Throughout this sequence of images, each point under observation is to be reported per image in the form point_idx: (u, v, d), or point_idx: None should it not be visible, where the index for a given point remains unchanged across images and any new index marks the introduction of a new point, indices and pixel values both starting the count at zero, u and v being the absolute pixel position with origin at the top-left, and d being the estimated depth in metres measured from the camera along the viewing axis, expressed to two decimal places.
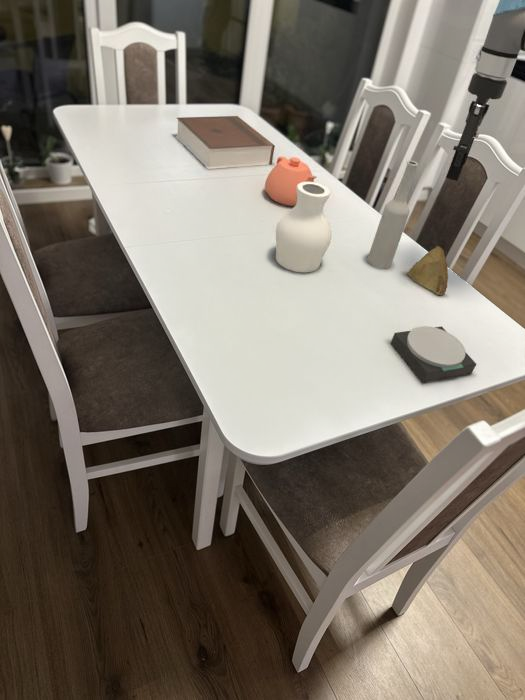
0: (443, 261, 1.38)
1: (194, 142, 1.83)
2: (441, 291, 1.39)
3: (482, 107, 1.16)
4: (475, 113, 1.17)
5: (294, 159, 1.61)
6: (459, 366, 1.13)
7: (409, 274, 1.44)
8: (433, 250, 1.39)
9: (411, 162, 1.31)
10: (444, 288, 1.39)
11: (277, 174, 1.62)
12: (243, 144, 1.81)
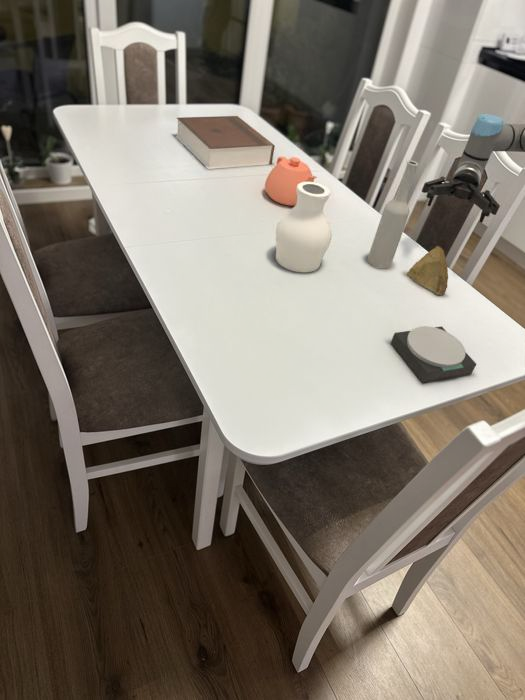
0: (443, 261, 1.38)
1: (194, 142, 1.83)
2: (441, 291, 1.39)
3: None
4: None
5: (294, 159, 1.61)
6: (459, 366, 1.13)
7: (409, 274, 1.44)
8: (433, 250, 1.39)
9: (411, 162, 1.31)
10: (444, 288, 1.39)
11: (277, 174, 1.62)
12: (243, 144, 1.81)
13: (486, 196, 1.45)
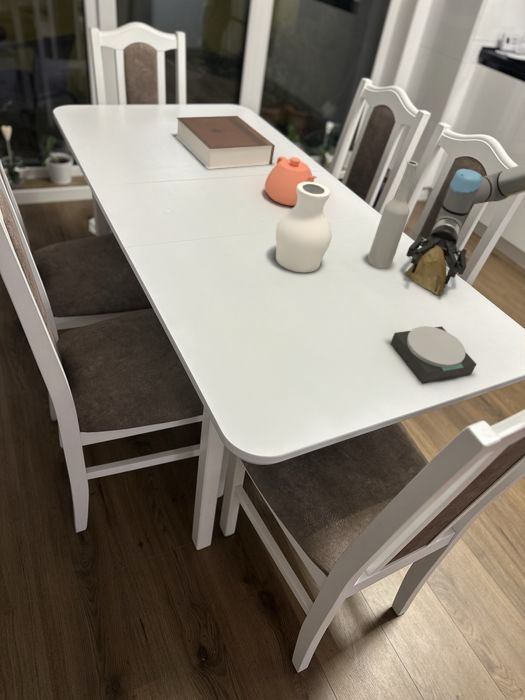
0: (441, 260, 1.37)
1: (194, 142, 1.83)
2: (439, 291, 1.38)
3: None
4: None
5: (294, 159, 1.61)
6: (459, 366, 1.13)
7: (408, 273, 1.44)
8: (432, 250, 1.39)
9: (411, 162, 1.31)
10: (442, 288, 1.39)
11: (277, 174, 1.62)
12: (243, 144, 1.81)
13: (460, 255, 1.43)
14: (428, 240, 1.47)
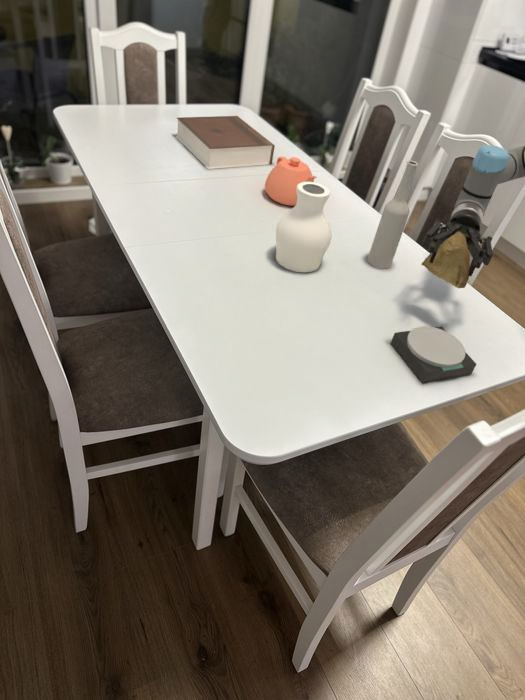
0: (464, 248, 1.18)
1: (194, 142, 1.83)
2: (461, 284, 1.19)
3: None
4: None
5: (294, 159, 1.61)
6: (459, 366, 1.13)
7: (424, 264, 1.25)
8: (453, 236, 1.20)
9: (411, 162, 1.31)
10: (465, 280, 1.19)
11: (277, 174, 1.62)
12: (243, 144, 1.81)
13: (484, 243, 1.24)
14: (447, 226, 1.28)
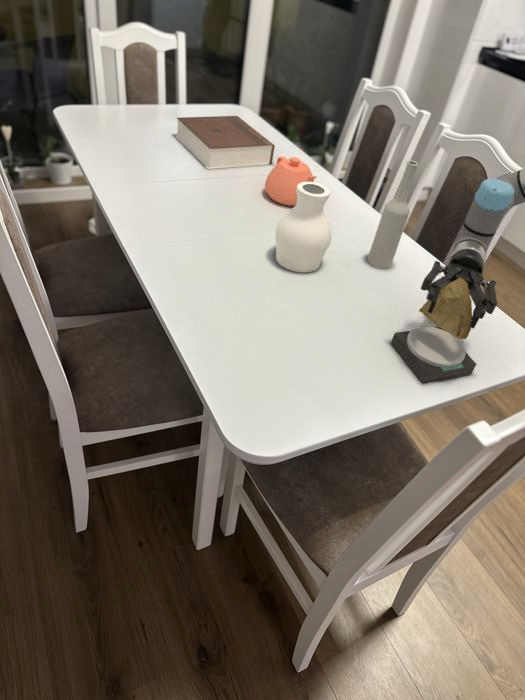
0: (466, 297, 1.08)
1: (194, 142, 1.83)
2: (463, 335, 1.09)
3: None
4: None
5: (294, 159, 1.61)
6: (459, 366, 1.13)
7: (422, 311, 1.15)
8: (454, 282, 1.10)
9: (411, 162, 1.31)
10: (467, 331, 1.09)
11: (277, 174, 1.62)
12: (243, 144, 1.81)
13: (488, 288, 1.14)
14: (447, 268, 1.18)
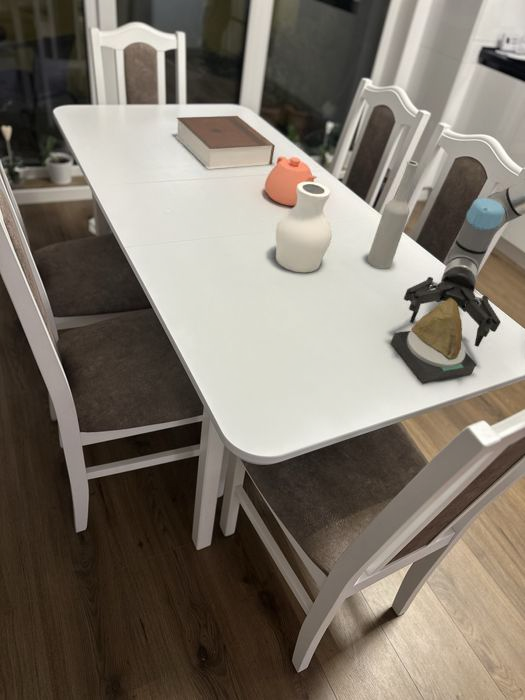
0: (456, 317, 1.11)
1: (194, 142, 1.83)
2: (453, 354, 1.12)
3: None
4: None
5: (294, 159, 1.61)
6: (459, 366, 1.13)
7: (414, 330, 1.18)
8: (444, 303, 1.13)
9: (411, 162, 1.31)
10: (457, 350, 1.13)
11: (277, 174, 1.62)
12: (243, 144, 1.81)
13: (483, 305, 1.17)
14: (440, 286, 1.21)
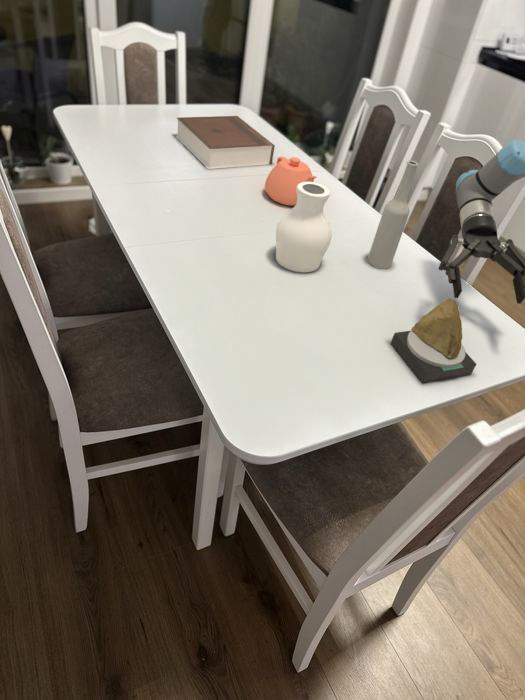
0: (456, 317, 1.11)
1: (194, 142, 1.83)
2: (453, 354, 1.12)
3: None
4: (451, 243, 1.24)
5: (294, 159, 1.61)
6: (459, 366, 1.13)
7: (414, 330, 1.18)
8: (444, 303, 1.13)
9: (411, 162, 1.31)
10: (457, 350, 1.13)
11: (277, 174, 1.62)
12: (243, 144, 1.81)
13: (511, 252, 1.22)
14: (466, 242, 1.23)
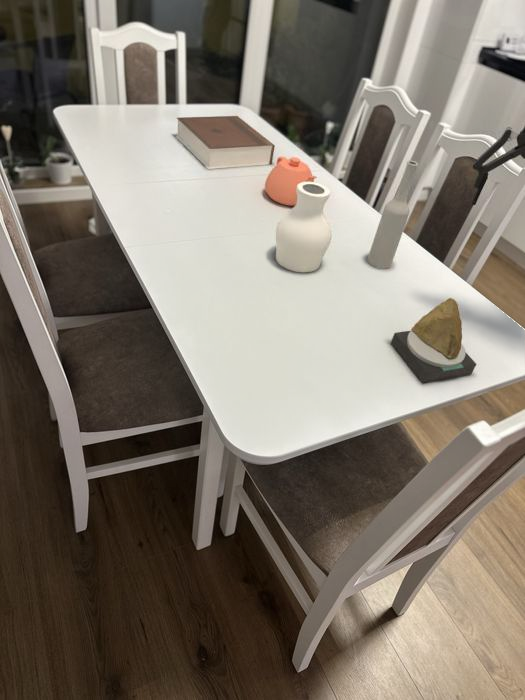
0: (456, 317, 1.11)
1: (194, 142, 1.83)
2: (453, 354, 1.12)
3: (506, 130, 1.09)
4: (502, 136, 1.11)
5: (294, 159, 1.61)
6: (459, 366, 1.13)
7: (414, 330, 1.18)
8: (444, 303, 1.13)
9: (411, 162, 1.31)
10: (457, 350, 1.13)
11: (277, 174, 1.62)
12: (243, 144, 1.81)
13: None
14: (518, 142, 1.09)
